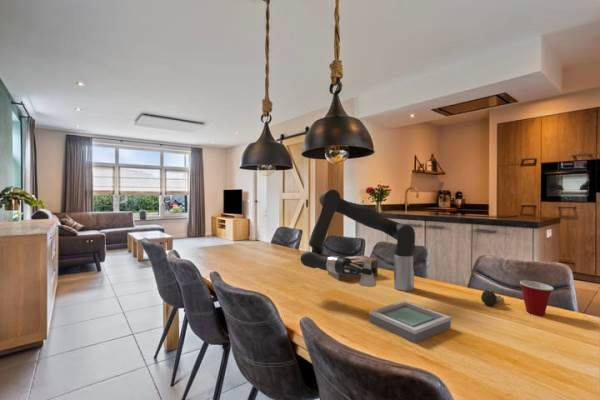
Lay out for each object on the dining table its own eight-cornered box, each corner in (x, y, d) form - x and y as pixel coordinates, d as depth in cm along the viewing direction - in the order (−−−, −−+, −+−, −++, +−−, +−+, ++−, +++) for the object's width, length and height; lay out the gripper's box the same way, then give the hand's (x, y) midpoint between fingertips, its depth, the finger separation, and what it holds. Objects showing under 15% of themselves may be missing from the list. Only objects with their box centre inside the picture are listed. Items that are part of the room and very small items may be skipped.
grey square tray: (404, 310, 124) (404, 300, 124) (450, 328, 107) (450, 316, 107) (369, 321, 113) (369, 310, 113) (415, 343, 96) (415, 330, 96)
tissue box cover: (365, 271, 191) (365, 255, 191) (377, 276, 178) (377, 260, 178) (328, 274, 183) (328, 258, 183) (338, 280, 170) (338, 263, 170)
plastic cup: (556, 321, 113) (556, 289, 113) (521, 315, 118) (521, 285, 118) (550, 311, 122) (550, 282, 122) (518, 306, 128) (518, 278, 128)
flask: (377, 288, 119) (377, 263, 119) (358, 287, 121) (358, 262, 120) (376, 282, 126) (376, 259, 126) (358, 282, 128) (358, 258, 128)
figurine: (506, 291, 136) (498, 292, 125) (505, 306, 135) (497, 308, 125) (486, 288, 141) (477, 288, 131) (486, 302, 140) (476, 303, 130)
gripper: (329, 259, 128) (365, 265, 116) (347, 254, 138) (382, 259, 127) (329, 276, 128) (365, 284, 116) (347, 270, 138) (382, 277, 127)
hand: (373, 271), depth 121 cm, fingers closed on flask, 3 cm apart
